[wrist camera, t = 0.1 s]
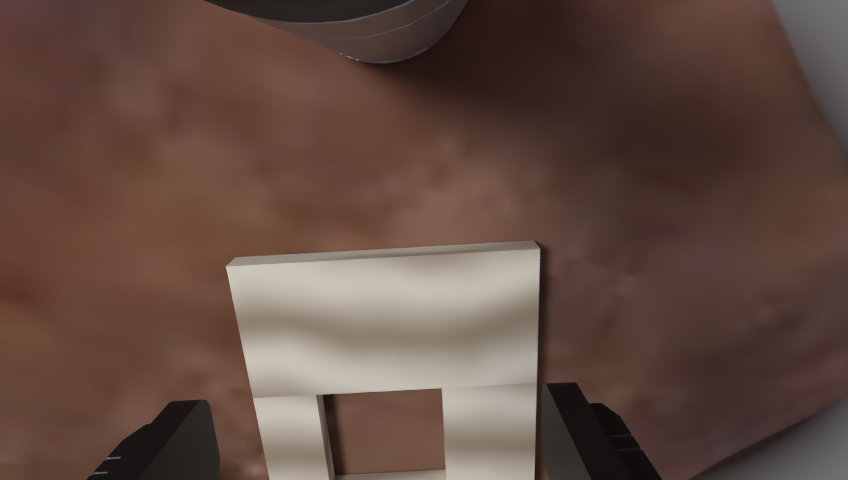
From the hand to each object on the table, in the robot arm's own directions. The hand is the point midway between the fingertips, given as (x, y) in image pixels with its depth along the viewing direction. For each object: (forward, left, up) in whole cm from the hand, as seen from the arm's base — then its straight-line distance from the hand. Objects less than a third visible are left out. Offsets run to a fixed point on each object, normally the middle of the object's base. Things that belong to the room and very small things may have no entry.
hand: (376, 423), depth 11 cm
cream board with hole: (+13, -1, -17) cm, 21 cm away
